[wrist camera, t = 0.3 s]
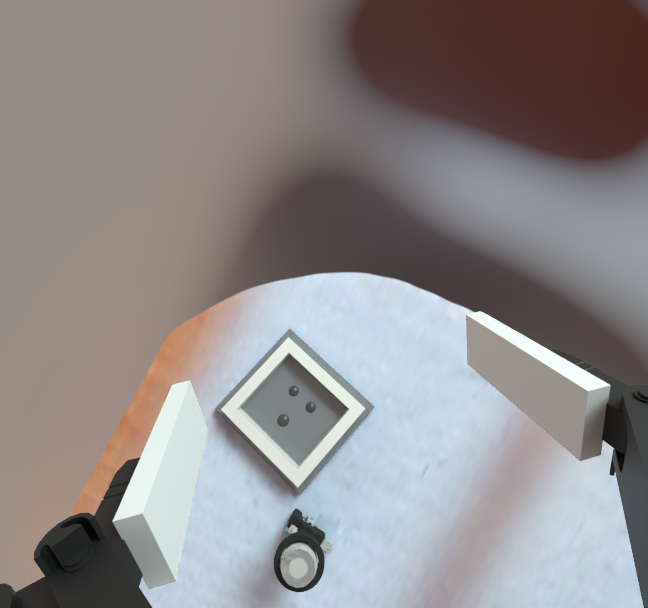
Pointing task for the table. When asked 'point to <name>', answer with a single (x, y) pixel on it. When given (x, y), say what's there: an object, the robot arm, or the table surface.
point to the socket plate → (294, 410)
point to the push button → (301, 554)
